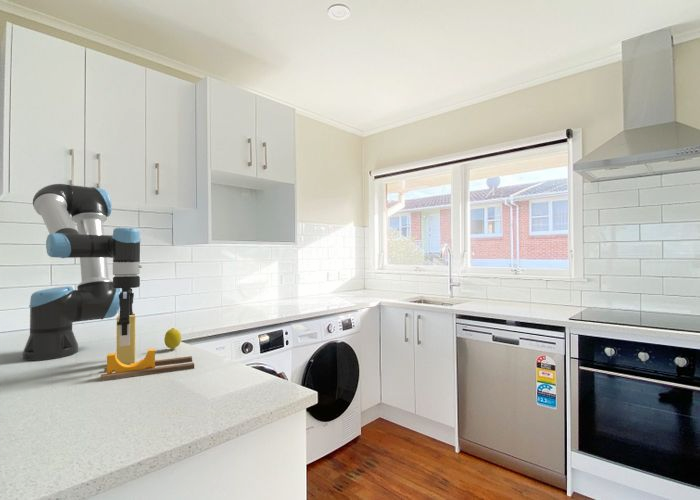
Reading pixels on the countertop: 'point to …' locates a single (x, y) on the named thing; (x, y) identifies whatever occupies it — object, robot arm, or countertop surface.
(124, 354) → the yellow rectangular block
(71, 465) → the countertop surface
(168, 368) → the channel
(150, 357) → the pipe clamp
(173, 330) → the lemon
